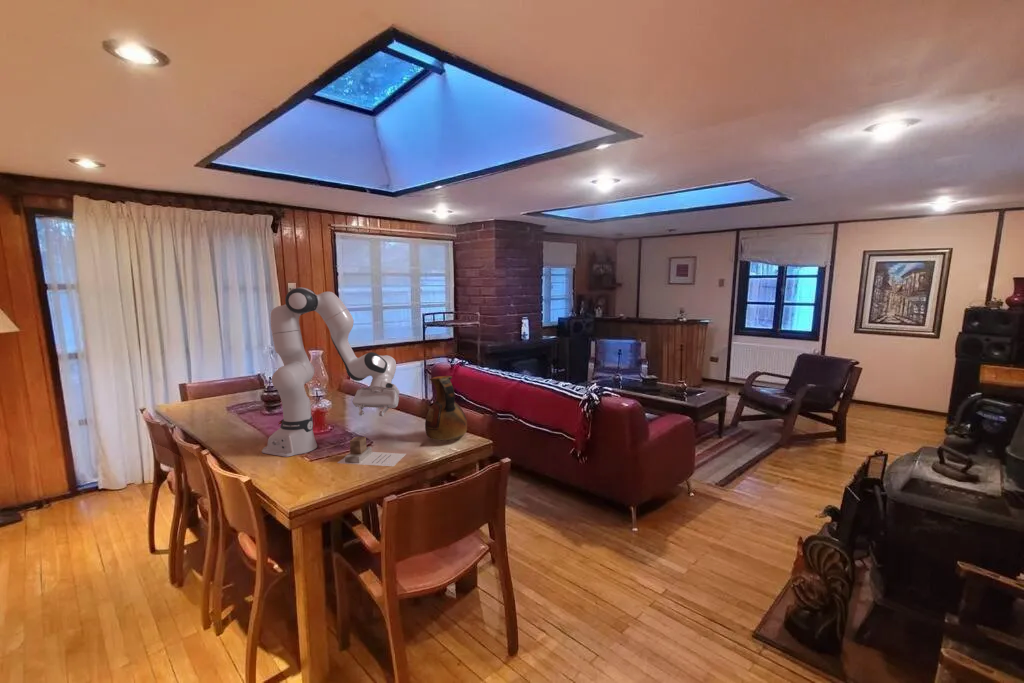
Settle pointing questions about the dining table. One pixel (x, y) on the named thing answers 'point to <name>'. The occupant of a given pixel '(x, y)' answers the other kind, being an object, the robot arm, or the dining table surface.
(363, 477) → the dining table surface
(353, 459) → the sanding block
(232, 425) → the dining table surface
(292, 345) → the robot arm
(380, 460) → the board
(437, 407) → the ceramic pitcher
